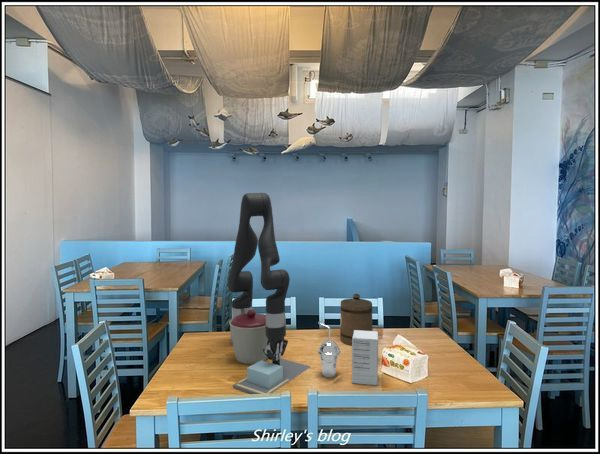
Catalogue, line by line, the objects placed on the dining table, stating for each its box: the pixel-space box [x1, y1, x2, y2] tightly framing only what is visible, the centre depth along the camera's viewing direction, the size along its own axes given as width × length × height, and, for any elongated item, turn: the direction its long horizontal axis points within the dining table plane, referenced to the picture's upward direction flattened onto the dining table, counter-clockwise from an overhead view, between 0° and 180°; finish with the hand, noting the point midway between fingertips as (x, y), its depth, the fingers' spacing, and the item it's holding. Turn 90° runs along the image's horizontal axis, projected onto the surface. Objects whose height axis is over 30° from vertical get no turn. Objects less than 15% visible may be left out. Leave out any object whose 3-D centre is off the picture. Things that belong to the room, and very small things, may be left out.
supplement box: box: [351, 330, 379, 386], centre depth 147 cm, size 10×9×17 cm
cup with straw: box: [317, 321, 341, 378], centre depth 148 cm, size 8×9×20 cm
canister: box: [228, 309, 268, 365], centre depth 164 cm, size 18×18×21 cm
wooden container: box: [339, 293, 373, 346], centre depth 186 cm, size 15×15×22 cm
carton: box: [246, 360, 283, 389], centre depth 144 cm, size 10×8×5 cm
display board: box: [232, 357, 312, 395], centre depth 148 cm, size 15×28×1 cm, turn 146°
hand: (276, 368), depth 149 cm, fingers closed
